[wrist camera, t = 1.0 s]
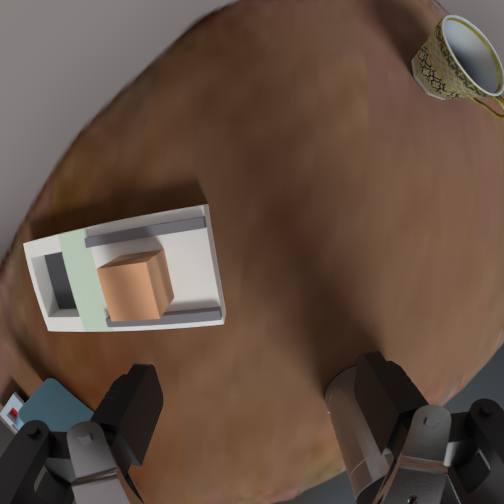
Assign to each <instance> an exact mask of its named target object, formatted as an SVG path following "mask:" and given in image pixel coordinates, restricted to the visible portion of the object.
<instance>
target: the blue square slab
mask: <svg viewBox="0 0 504 504" xmlns="http://www.w3.org/2000/svg"><path fill="white" fill-rule="evenodd" d="M93 414H94V412H93V411H92V410H90V409H89V408H88V407H87V406H85V405H84V404H83V403H82V402H80V401H79V400H78V399H77V398H76V397H75V396H73V395H72V394H71V393H70V392H69V391H68V390H67V389H66V388H64V387H63V386H62V385H61V384H60V383H59V382H58V381H57V380H55V379H53V378H48V379H46V380H45V381H44V383H43V384H42V385H41V386H40V387H39V388H38V389H37V390H36V391H35V392H34V394H33V395H32V396H31V397H30V398H29V399H28V400H27V401H26V403H25V404H24V405H23V406H22V407H21V408H20V410H19V412H18V415H17V418H16V425H17V427H18V429H19V430H20V428H21V427H22V426H23V425H24V424H25V423H26V422H28V421H31V420H41V421H43V422H45V423H46V424H47V426H48V427H49V429H50V431H57V432H68V431H69V429H70V428H71V427H72V426H73V425H75V424H77V423H79V422H83V421H89V420H90V419H91V417H92V416H93Z"/></svg>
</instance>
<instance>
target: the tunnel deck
mask: <svg viewBox="0 0 504 504" xmlns="http://www.w3.org/2000/svg"><path fill="white" fill-rule="evenodd" d="M23 245H24V250H25V254H26V259H27V263H28V267H29V271H30V275H31V279H32V282H33V286H34V289H35V293H36V296H37V299H38V302H39V305H40V308H41V311H42V314H43V317H44V320H45V323H46V325H47V328H48V331H72V332H95V331H135V330H156V329H172V328H186V327H199V326H210V325H221V324H224V321H225V316H226V308H225V302H224V297H223V291H222V285H221V280H220V274H219V268H218V262H217V256H216V250H215V244H214V238H213V232H212V225H211V219H210V212H209V206H208V204H204V205H198V206H192V207H186V208H180V209H174V210H168V211H163V212H157V213H152V214H147V215H141V216H136V217H131V218H126V219H121V220H117V221H112V222H107V223H103V224H98V225H93V226H89V227H85V228H80V229H76V230H72V231H68V232H64V233H59V234H55V235H51V236H48V237H44V238H40V239H36V240H33V241H30V242H27V243H24V244H23ZM161 249H164V250H165V256H166V261H167V265H168V270H169V275H170V280H171V284H172V289H173V293H174V299H173V300H172V302H171V303H170V305H169V306H168V308H167V309H166V311H165V312H164V314H163V315H162V317H161V318H160V319H150V320H133V321H111V318H110V315H109V312H108V309H107V305H106V302H105V299H104V295H103V292H102V288H101V284H100V281H99V277H98V273H97V268H99V267H101V266H103V265H104V264H106V263H108V262H110V261H111V260H113V259H115V258H117V257H119V256H121V255H127V254H134V253H141V252H147V251H154V250H161Z"/></svg>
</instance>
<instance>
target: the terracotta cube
mask: <svg viewBox="0 0 504 504" xmlns="http://www.w3.org/2000/svg"><path fill="white" fill-rule="evenodd" d="M97 273H98V277H99V281H100V284H101V288H102V292H103V295H104V299H105V302H106V305H107V309H108V312H109V315H110V318H111V321H133V320H150V319H160V318H161V317H162V315H163V314H164V312H165V311H166V309H167V308H168V306H169V305H170V303H171V302H172V300H173V299H174V293H173V289H172V284H171V280H170V275H169V270H168V265H167V261H166V256H165V250H164V249H161V250H154V251H147V252H141V253H134V254H127V255H121V256H119V257H117V258H115V259H113V260H111V261H110V262H108V263H106V264H104V265H103V266H101V267H99V268H97Z"/></svg>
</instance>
